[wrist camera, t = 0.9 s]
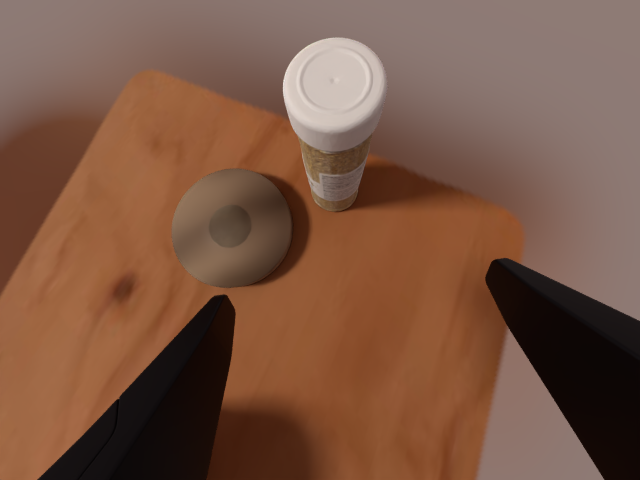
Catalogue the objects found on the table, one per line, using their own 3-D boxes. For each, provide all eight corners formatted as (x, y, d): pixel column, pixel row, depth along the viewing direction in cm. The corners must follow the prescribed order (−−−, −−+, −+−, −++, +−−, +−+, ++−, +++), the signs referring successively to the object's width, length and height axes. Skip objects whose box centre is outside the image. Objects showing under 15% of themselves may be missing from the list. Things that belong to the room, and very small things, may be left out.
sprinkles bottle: (309, 170, 24) (277, 38, 11) (356, 165, 24) (382, 24, 10) (313, 215, 23) (284, 134, 10) (361, 211, 23) (396, 121, 10)
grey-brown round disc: (314, 245, 23) (313, 243, 21) (214, 309, 22) (206, 312, 21) (256, 155, 24) (251, 147, 23) (163, 213, 24) (152, 209, 23)
